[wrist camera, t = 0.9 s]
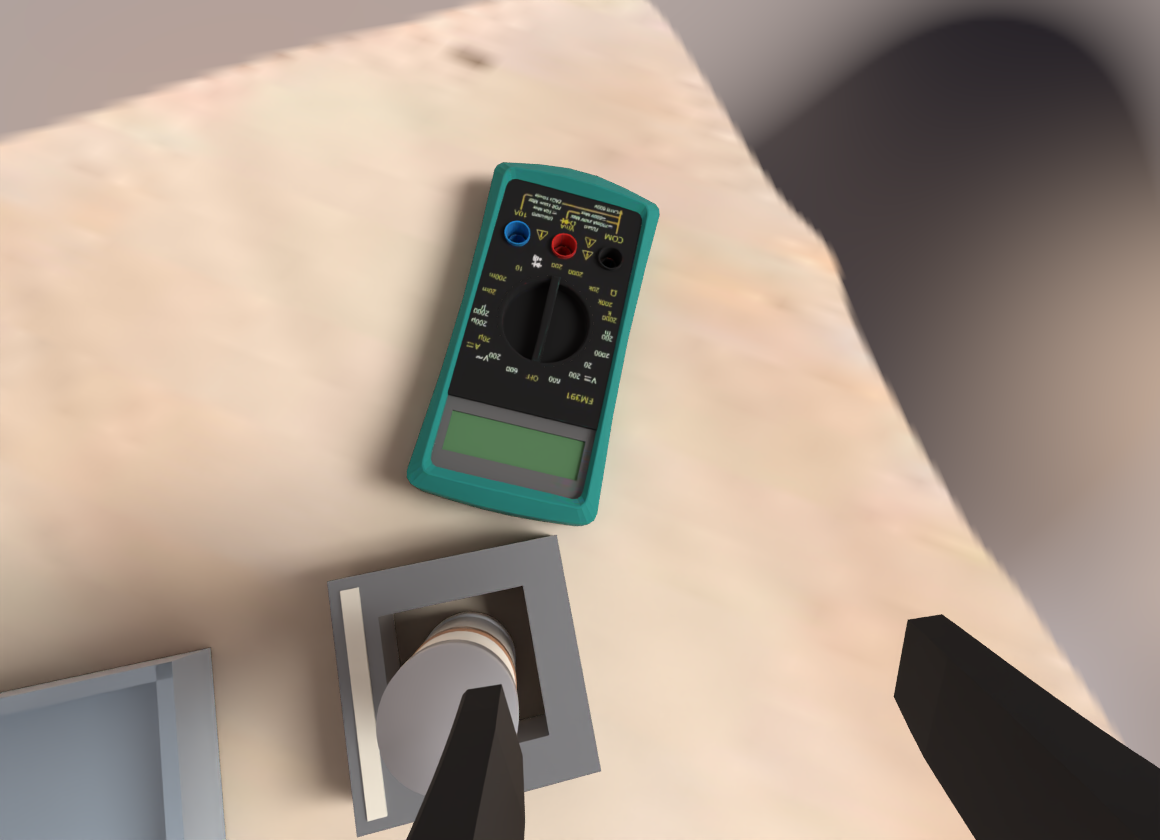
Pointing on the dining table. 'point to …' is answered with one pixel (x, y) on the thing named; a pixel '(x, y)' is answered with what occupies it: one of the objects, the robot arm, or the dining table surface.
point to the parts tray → (114, 755)
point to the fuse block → (372, 660)
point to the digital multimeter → (537, 347)
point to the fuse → (441, 693)
